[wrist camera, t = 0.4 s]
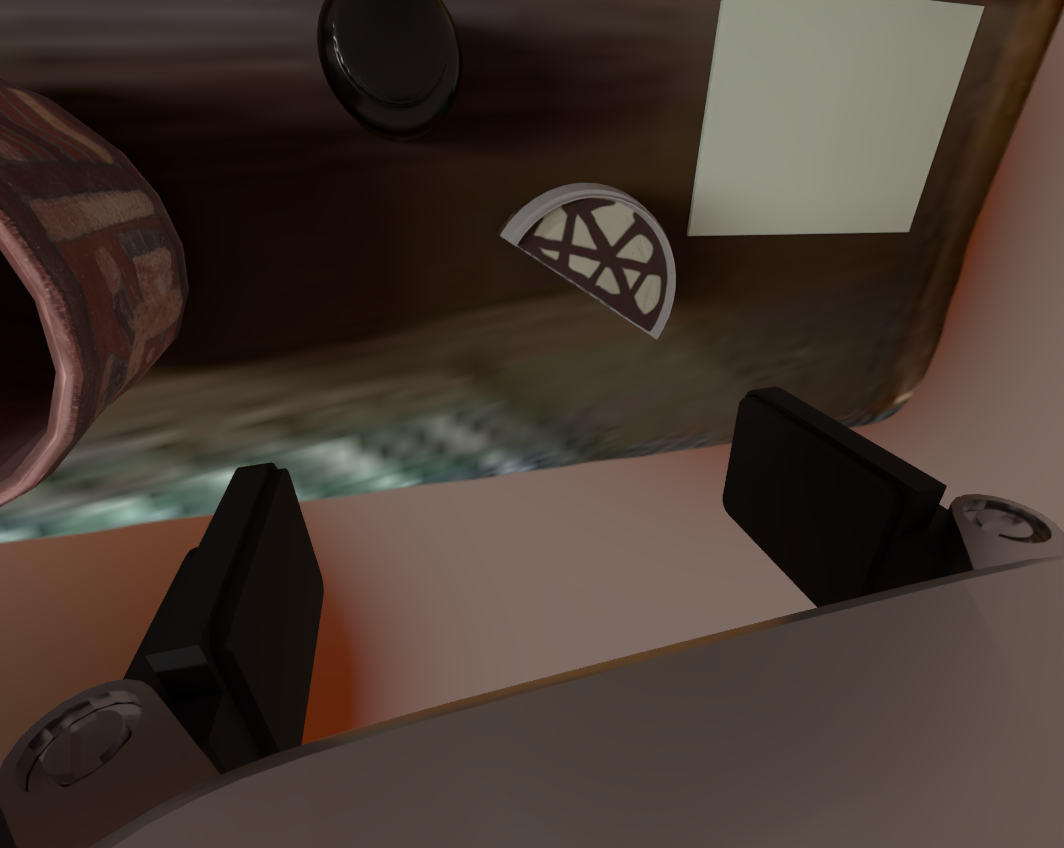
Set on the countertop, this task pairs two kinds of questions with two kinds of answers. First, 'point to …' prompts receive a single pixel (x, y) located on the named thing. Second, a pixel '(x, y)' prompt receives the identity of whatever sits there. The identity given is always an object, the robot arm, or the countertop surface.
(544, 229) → the food container
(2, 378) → the pottery
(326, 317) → the countertop surface
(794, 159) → the mat
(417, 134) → the supplement bottle
